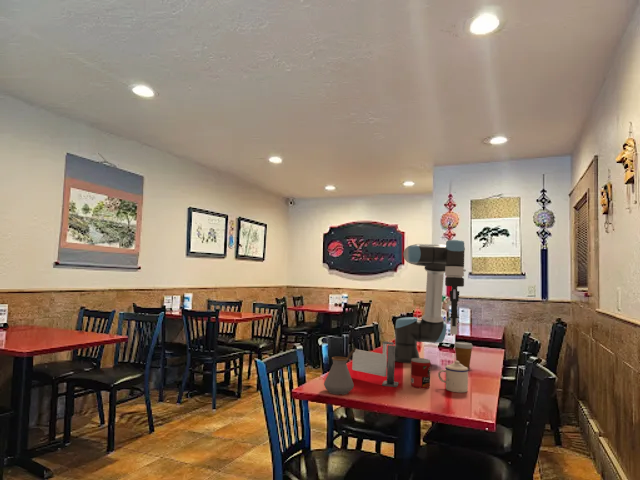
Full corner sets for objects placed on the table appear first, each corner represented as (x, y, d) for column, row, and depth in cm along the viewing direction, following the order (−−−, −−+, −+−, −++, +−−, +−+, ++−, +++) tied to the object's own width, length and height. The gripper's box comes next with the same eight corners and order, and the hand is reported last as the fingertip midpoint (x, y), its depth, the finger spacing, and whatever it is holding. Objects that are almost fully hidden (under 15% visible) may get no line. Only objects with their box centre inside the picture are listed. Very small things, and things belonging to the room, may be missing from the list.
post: (384, 382, 188) (385, 344, 190) (398, 384, 187) (399, 345, 188) (382, 385, 183) (383, 346, 184) (396, 387, 181) (397, 347, 182)
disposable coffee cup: (449, 365, 234) (450, 342, 235) (463, 364, 238) (463, 341, 239) (462, 368, 226) (462, 344, 227) (476, 367, 230) (477, 344, 231)
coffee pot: (345, 397, 162) (347, 356, 163) (318, 392, 167) (319, 352, 169) (367, 386, 181) (369, 349, 182) (342, 382, 186) (343, 345, 187)
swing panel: (392, 377, 185) (393, 342, 186) (390, 378, 184) (391, 342, 185) (354, 369, 198) (355, 336, 199) (351, 369, 197) (353, 337, 198)
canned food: (425, 389, 179) (426, 362, 179) (407, 386, 183) (408, 359, 184) (433, 386, 185) (433, 359, 186) (415, 383, 189) (415, 357, 190)
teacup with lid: (470, 389, 182) (470, 360, 183) (466, 394, 174) (466, 364, 175) (440, 385, 188) (441, 357, 189) (435, 389, 180) (436, 360, 181)
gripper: (464, 277, 178) (463, 336, 176) (463, 277, 190) (462, 333, 188) (445, 276, 180) (444, 335, 178) (445, 276, 192) (444, 331, 190)
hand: (453, 334), depth 183 cm, fingers closed
